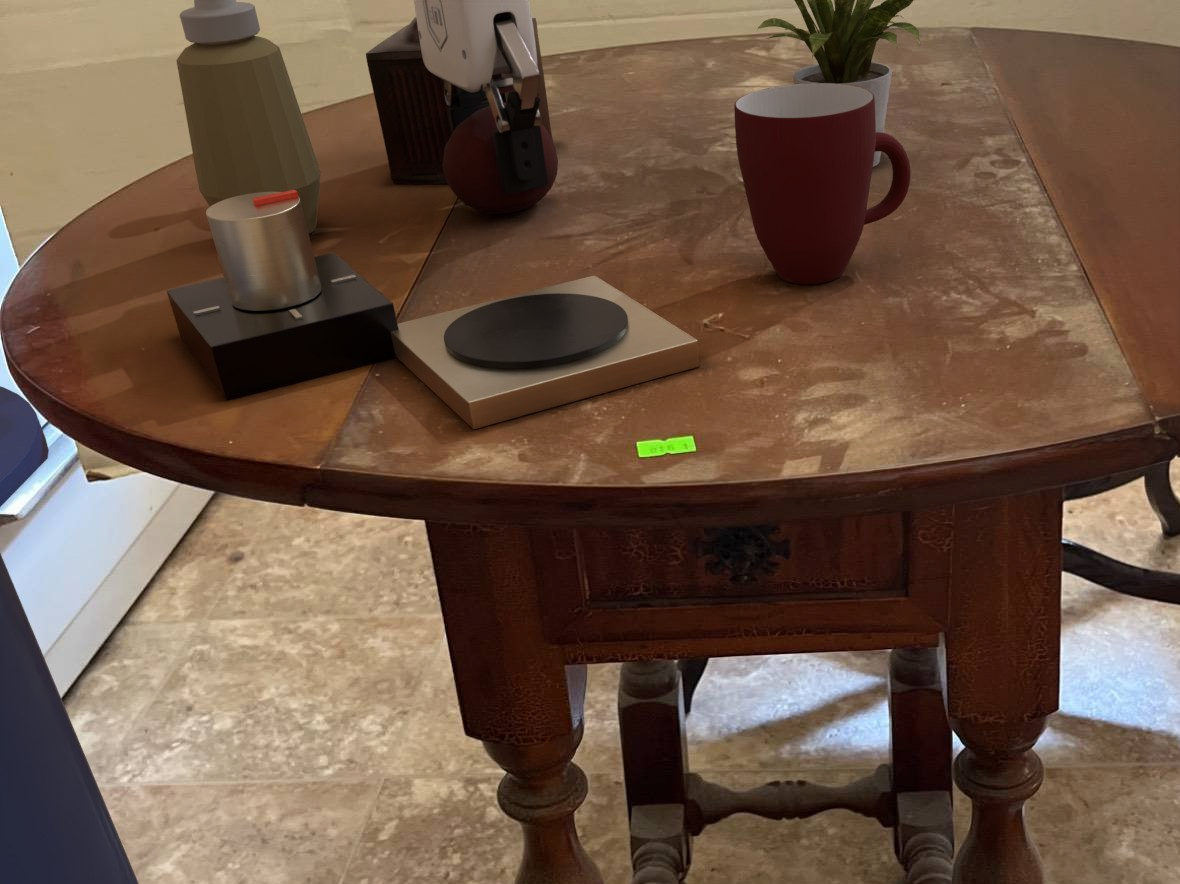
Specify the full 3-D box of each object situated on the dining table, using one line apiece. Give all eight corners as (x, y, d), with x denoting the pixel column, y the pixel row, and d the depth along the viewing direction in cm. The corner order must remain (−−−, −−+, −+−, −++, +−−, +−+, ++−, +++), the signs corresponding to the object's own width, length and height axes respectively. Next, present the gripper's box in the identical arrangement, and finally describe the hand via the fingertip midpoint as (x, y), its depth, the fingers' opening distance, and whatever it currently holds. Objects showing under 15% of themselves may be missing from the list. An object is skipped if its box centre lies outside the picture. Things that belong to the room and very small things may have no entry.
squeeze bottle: (197, 256, 99) (111, -41, 89) (236, 219, 106) (161, -62, 95) (314, 251, 99) (242, -49, 88) (346, 214, 105) (283, -70, 95)
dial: (243, 318, 80) (216, 220, 77) (221, 293, 84) (194, 198, 81) (332, 297, 82) (309, 200, 79) (307, 273, 86) (284, 180, 82)
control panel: (226, 400, 79) (209, 343, 77) (181, 339, 87) (165, 287, 85) (404, 355, 83) (392, 300, 81) (345, 301, 90) (333, 249, 89)
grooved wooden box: (560, 142, 118) (525, -116, 107) (521, 182, 109) (478, -93, 98) (378, 145, 120) (326, -106, 110) (325, 186, 112) (262, -83, 101)
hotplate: (473, 430, 74) (466, 394, 73) (390, 352, 83) (383, 319, 82) (700, 366, 79) (697, 332, 78) (597, 299, 88) (593, 268, 87)
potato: (427, 221, 103) (407, 116, 98) (509, 188, 108) (493, 87, 104) (506, 235, 99) (489, 127, 95) (586, 200, 105) (572, 96, 100)
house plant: (731, 200, 103) (712, -63, 93) (731, 146, 114) (715, -94, 104) (935, 187, 102) (938, -79, 93) (916, 134, 113) (916, -108, 104)
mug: (866, 235, 95) (863, 69, 89) (937, 268, 89) (939, 93, 83) (721, 270, 91) (708, 99, 85) (786, 307, 85) (777, 126, 79)
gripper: (354, -117, 97) (409, 160, 107) (447, -94, 84) (499, 217, 95) (461, -131, 99) (504, 140, 110) (566, -111, 87) (604, 193, 98)
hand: (502, 174), depth 102 cm, fingers closed on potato, 7 cm apart
